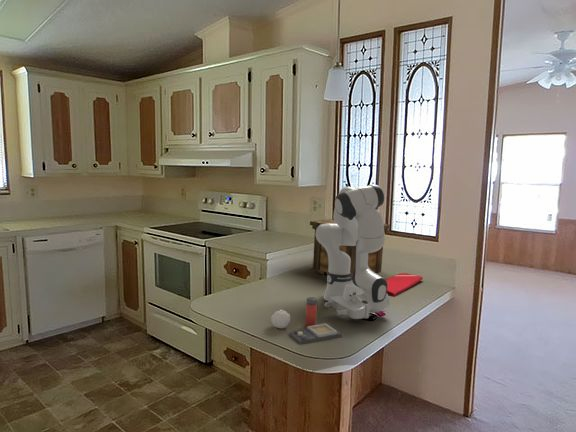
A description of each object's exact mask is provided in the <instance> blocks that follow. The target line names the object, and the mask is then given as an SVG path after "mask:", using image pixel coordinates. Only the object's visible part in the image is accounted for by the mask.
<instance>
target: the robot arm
mask: <svg viewBox="0 0 576 432" xmlns="http://www.w3.org/2000/svg"><path fill="white" fill-rule="evenodd" d="M384 202H385V193H384V190H383V188H381V186H379V185H377V184H368V185H365V186H364V185H363V186H360V187H355V188H354V187H352V186H345V187H343V188H341V189H340V190H339V192H338V194H337V195H336V196H335V199H334V210H333V216H332V217H333V218H332V219H334V221H335V222H336V224H335V223H327V224H321V225H319V226H318V228H317V230H316V239H317V241H318V242H319V243H320V244H321V245H322V246H323V247H324V248H325V249H326V251H327V254H328V262H329V266H328V271H327V274H326V282H327V283H326V288H325V292H324V296H323V299H324V301H326V302H324V307H325V308H330V307H332V308H333V309H336V311H335V313H336V315H338V316H341V315H342V316H348V317H349V318H351V319H354V320H361V319H365V320H366V319H369V317H370V314H373V313H378V312H382V311H384V310H386V309H387V308H388V307H389V306H390V302H391V301H390V297H389V296H390V295H387V288H388V284H387V281H386V279H385V278H384V277H382V276H381V275H379V273H374V272H373V271H371V270H370V268H369V267H368V253H373V252H376V251H378V250H380V249H381V248H382V247H383V248H384V245H385V239H386V238H385V233H384V225H383V224H384V221H383V216H382V213H381V212H380V210H379V209H378V208H380V207H381V206H383V204H384ZM339 246H355V264H354V271H353V274H352V273H351V272H350V265H351V259H350V256H349V255H348V254H346V253H344V252H343V251H341V250H340V249H339Z"/></svg>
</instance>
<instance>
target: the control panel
mask: <svg viewBox="0 0 576 432" xmlns="http://www.w3.org/2000/svg"><path fill="white" fill-rule="evenodd" d="M342 334H343V333H342V332H340V331H339V330H337V329H336V328H334V327H333V326H332V325H329V324H327V323H319V324H316V325H313V326H307V327H306V328H305V329H299V328H294V329H293V330H292V331H289V332H288V335H289V336H290V337H291V338H292V339H294V340H295V341H296V342H297V344H299V345H302V344H308V343H315V342H319V341H325V340H329V339H335V338H340V337H341V338H342Z"/></svg>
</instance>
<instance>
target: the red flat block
mask: <svg viewBox="0 0 576 432" xmlns="http://www.w3.org/2000/svg"><path fill="white" fill-rule="evenodd" d="M385 280H386V281H387V284H388V288H387V295H388V296H390V297H396V296H397V295H399V294H401V293H403V292H405V291H407V290H409V289H410V288H412V287H413V286H415V285H417V284H418V283H419V282H421V281H422V280H424V279H423V276H420V275H416V274H412V273H408V272H407V273H405V272H404V273H403V272H400V273H397V274H395V275H393V276H391V277H388V278H387V279H385Z"/></svg>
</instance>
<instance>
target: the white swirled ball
mask: <svg viewBox="0 0 576 432" xmlns="http://www.w3.org/2000/svg"><path fill="white" fill-rule="evenodd" d="M270 321H271V323H272V325H273V326H274V327H275V328H277V329H285V328H286V327H288V325H289V324H290V321H291V315H290V313H288V311H286V310H283V309H279V310H276V311H274V313H272V314H271V317H270Z"/></svg>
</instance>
